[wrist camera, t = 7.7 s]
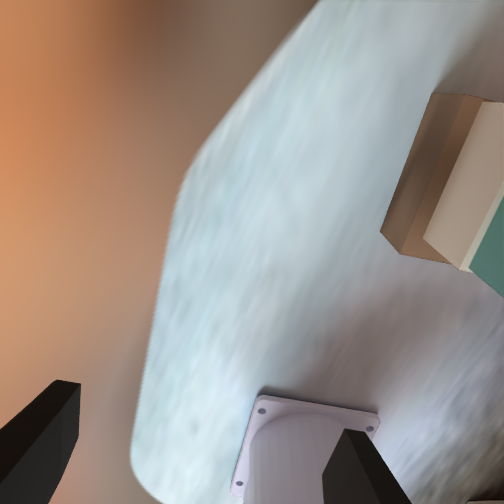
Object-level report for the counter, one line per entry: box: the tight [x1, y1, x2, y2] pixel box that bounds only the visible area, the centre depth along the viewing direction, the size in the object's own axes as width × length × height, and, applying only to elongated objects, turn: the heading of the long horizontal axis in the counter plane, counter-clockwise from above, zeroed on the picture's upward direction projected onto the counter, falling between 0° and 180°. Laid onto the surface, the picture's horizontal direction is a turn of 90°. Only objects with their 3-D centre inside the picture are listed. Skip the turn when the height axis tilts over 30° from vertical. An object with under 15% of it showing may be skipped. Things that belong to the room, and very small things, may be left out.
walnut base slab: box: [380, 94, 495, 264], centre depth 16 cm, size 6×6×3 cm
